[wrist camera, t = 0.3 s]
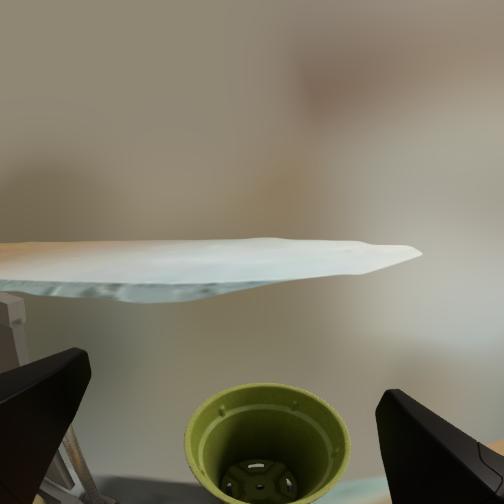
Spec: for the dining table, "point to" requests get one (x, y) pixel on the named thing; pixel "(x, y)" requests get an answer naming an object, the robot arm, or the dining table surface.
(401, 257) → the dining table surface
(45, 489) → the case
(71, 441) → the rod
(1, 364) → the lid
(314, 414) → the plant pot
